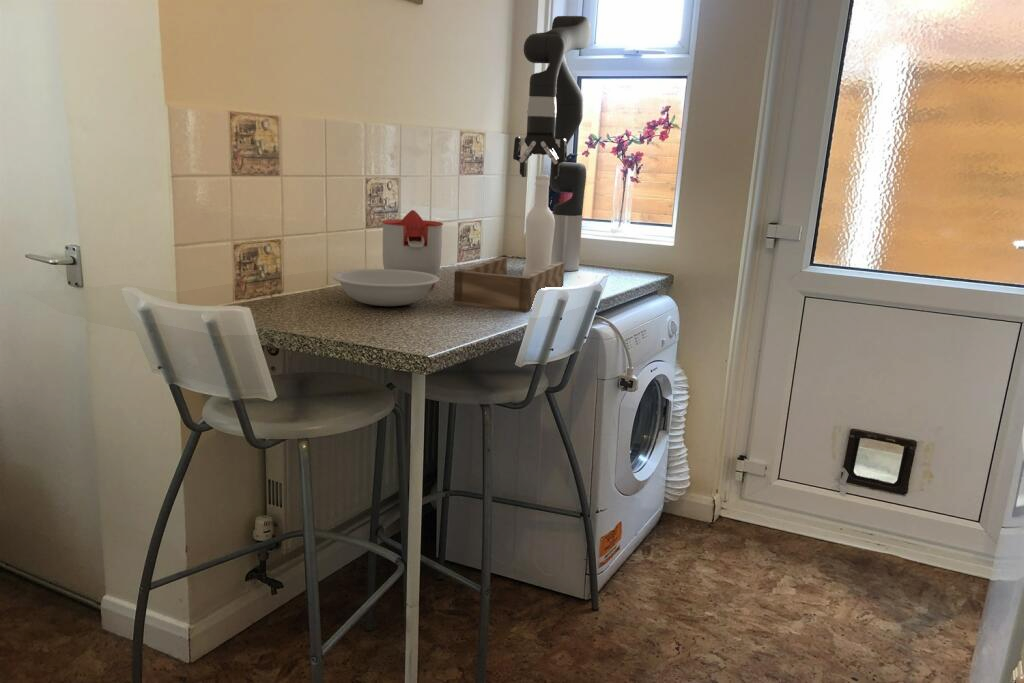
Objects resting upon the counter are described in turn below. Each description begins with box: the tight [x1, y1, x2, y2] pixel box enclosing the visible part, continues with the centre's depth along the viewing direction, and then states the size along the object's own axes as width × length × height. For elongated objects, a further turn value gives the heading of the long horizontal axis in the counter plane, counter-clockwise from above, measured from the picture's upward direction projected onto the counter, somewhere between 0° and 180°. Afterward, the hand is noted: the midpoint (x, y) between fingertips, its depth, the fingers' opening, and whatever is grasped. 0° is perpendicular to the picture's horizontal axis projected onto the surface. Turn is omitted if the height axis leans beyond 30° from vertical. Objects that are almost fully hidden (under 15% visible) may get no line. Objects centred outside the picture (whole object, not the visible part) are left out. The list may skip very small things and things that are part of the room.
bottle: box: [522, 174, 555, 277], centre depth 218 cm, size 8×8×30 cm
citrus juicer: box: [381, 209, 444, 289], centre depth 206 cm, size 16×17×20 cm
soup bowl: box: [332, 268, 440, 307], centre depth 184 cm, size 24×24×7 cm
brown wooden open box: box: [453, 256, 565, 313], centre depth 200 cm, size 32×18×8 cm, turn 162°
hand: (538, 177), depth 215 cm, fingers open, 8 cm apart
